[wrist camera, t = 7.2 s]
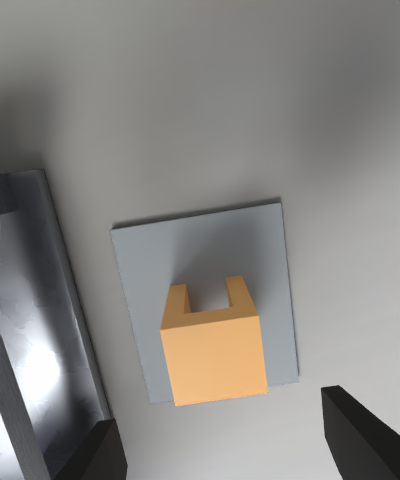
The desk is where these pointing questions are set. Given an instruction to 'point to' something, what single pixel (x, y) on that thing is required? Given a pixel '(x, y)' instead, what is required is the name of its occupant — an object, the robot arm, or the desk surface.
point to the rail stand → (41, 338)
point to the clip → (213, 347)
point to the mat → (208, 282)
